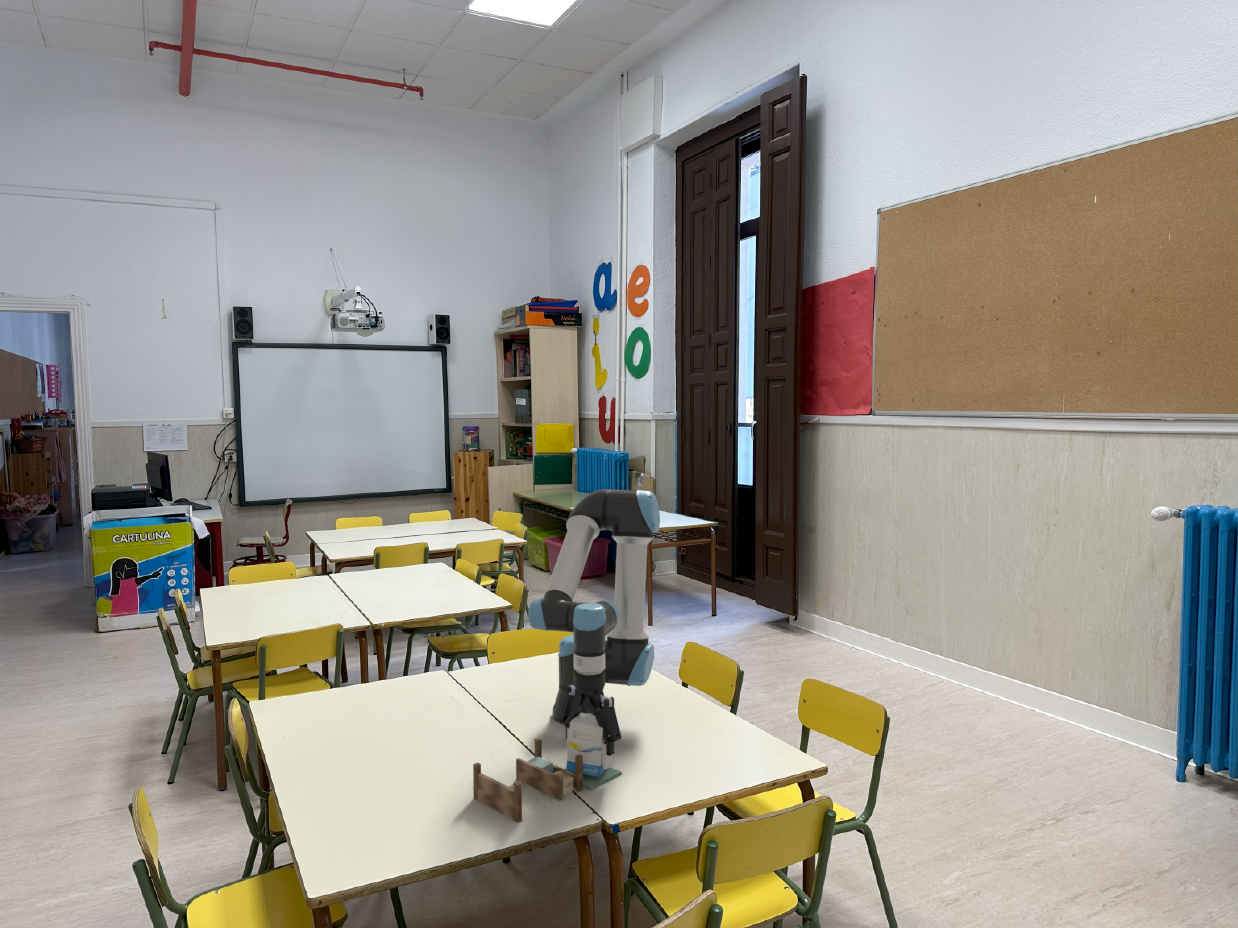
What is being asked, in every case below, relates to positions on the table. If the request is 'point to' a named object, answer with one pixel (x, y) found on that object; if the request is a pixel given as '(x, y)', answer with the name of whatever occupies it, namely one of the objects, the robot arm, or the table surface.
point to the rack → (529, 774)
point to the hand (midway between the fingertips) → (589, 760)
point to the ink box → (585, 744)
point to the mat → (599, 778)
